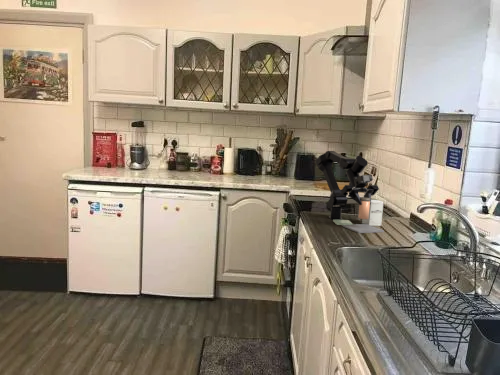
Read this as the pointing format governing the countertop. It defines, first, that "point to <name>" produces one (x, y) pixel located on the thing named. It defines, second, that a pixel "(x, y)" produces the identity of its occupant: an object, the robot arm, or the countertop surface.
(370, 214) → the supplement box
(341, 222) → the sage tile
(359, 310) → the countertop surface
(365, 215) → the terracotta jar
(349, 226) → the gray board
